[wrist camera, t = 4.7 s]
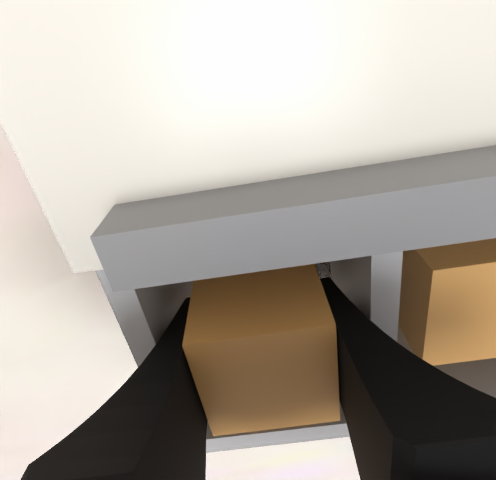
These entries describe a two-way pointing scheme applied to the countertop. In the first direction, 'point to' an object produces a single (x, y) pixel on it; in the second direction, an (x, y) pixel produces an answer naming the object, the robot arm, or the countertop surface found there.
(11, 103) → the lid
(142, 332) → the housing
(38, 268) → the countertop surface
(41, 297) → the countertop surface
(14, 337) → the countertop surface
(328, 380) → the light orange rectangular block
